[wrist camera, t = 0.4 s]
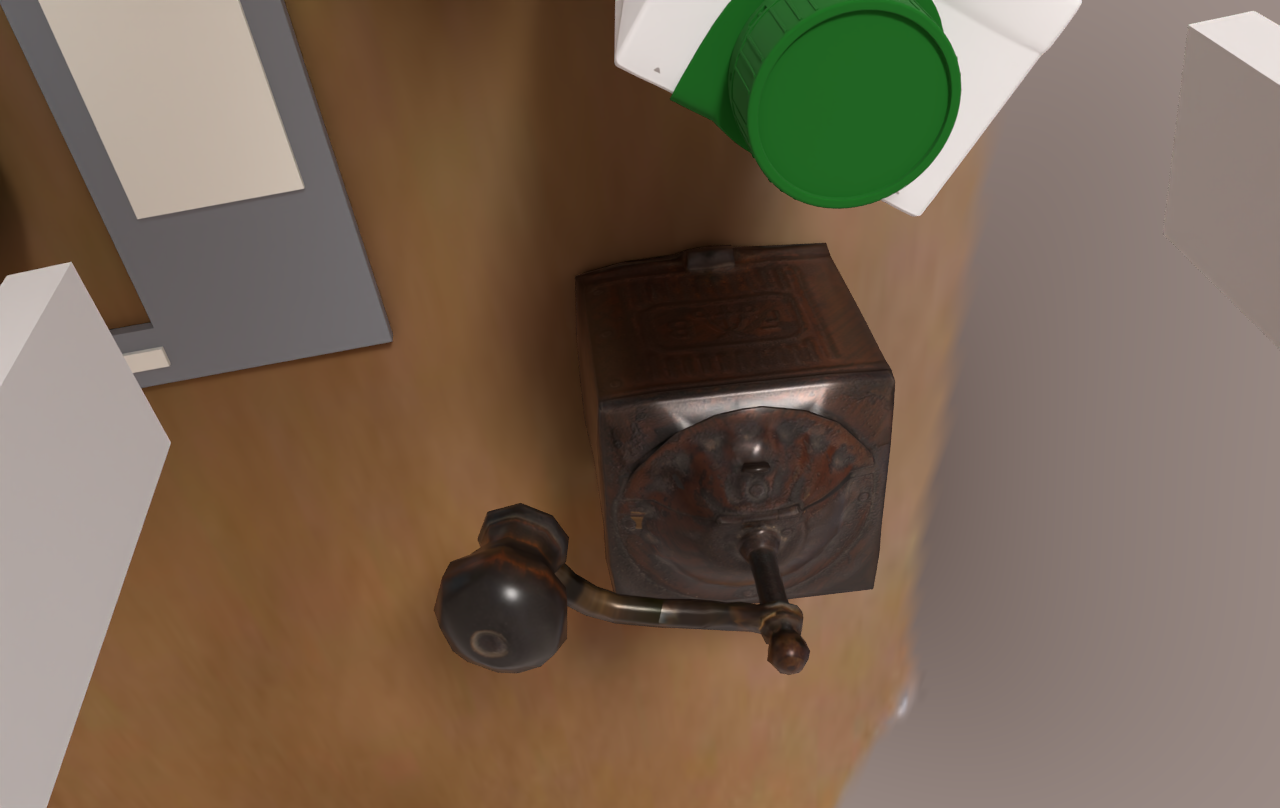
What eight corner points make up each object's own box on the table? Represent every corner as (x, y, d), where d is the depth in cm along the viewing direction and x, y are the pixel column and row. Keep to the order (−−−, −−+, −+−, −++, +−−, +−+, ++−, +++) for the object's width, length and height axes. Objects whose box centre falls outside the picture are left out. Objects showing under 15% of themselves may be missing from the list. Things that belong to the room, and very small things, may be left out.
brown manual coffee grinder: (835, 223, 45) (1006, 532, 30) (824, 444, 51) (960, 785, 37) (438, 265, 44) (419, 604, 29) (478, 485, 50) (479, 851, 36)
